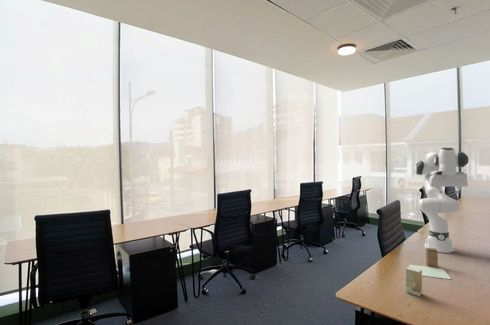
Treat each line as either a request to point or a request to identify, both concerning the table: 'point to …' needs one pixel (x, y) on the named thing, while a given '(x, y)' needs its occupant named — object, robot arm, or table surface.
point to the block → (431, 257)
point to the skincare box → (414, 281)
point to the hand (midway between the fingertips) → (448, 193)
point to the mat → (432, 272)
